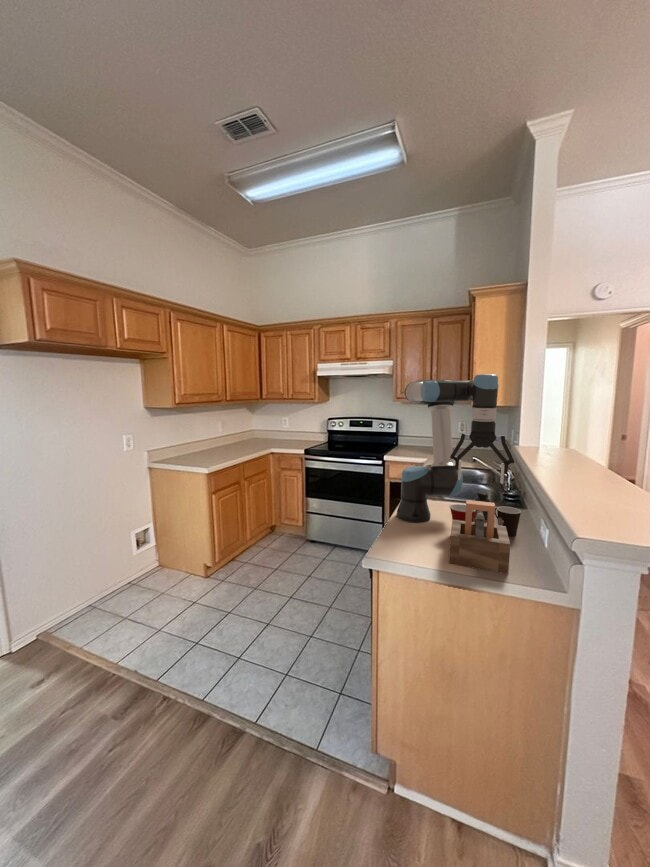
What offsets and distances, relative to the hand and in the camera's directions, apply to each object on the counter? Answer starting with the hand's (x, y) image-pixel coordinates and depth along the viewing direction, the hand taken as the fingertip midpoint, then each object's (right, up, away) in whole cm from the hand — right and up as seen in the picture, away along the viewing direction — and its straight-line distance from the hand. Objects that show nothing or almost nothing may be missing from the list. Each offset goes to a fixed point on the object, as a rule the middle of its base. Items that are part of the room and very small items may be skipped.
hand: (480, 480), depth 123 cm
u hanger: (-1, -20, 0) cm, 20 cm away
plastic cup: (+2, -25, +20) cm, 32 cm away
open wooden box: (-1, -27, +1) cm, 27 cm away
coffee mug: (+21, -25, +23) cm, 40 cm away
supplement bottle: (+18, -23, +39) cm, 49 cm away
